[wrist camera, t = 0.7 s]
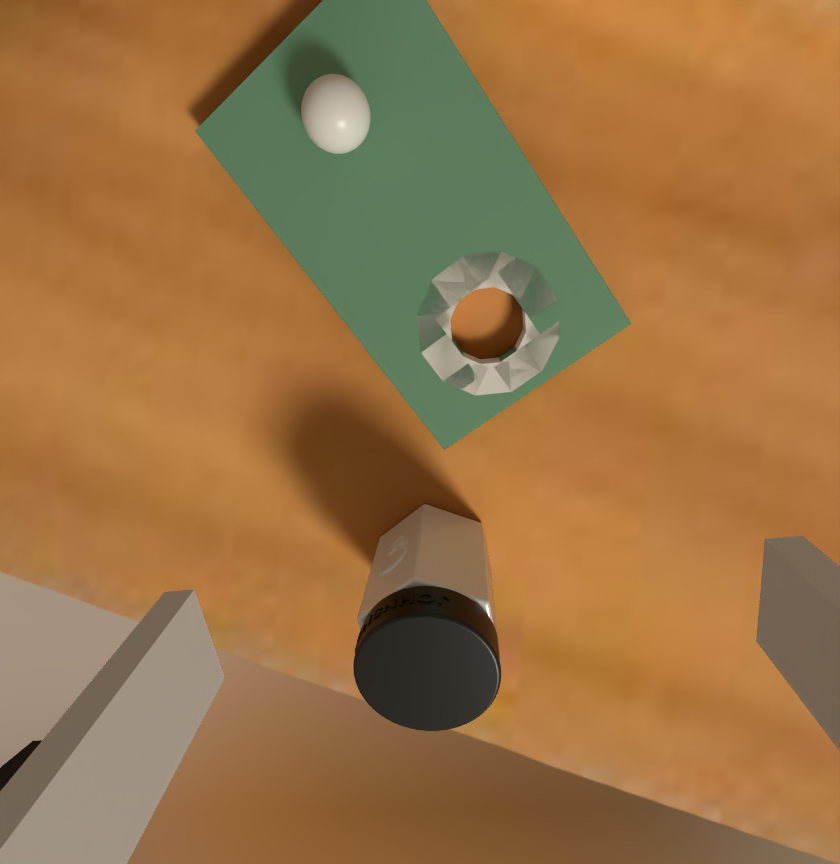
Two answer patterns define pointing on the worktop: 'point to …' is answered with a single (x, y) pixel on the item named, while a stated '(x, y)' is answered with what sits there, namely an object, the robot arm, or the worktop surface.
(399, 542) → the jar
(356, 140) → the ball
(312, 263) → the mat
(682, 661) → the worktop surface
